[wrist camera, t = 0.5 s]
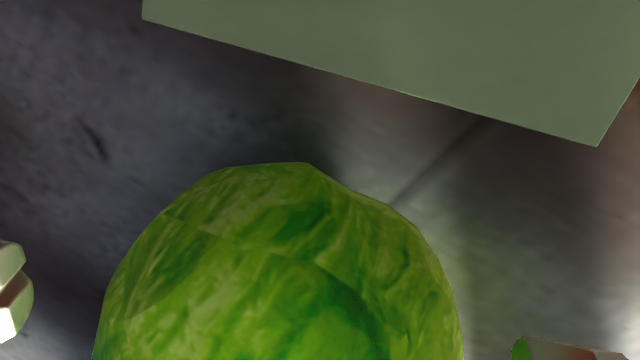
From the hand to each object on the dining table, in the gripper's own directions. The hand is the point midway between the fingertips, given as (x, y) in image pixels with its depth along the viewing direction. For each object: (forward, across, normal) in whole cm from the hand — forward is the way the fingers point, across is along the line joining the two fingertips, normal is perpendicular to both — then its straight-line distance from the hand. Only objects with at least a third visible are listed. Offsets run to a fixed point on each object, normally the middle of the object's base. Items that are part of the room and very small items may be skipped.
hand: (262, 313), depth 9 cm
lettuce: (+18, 0, +14) cm, 23 cm away
